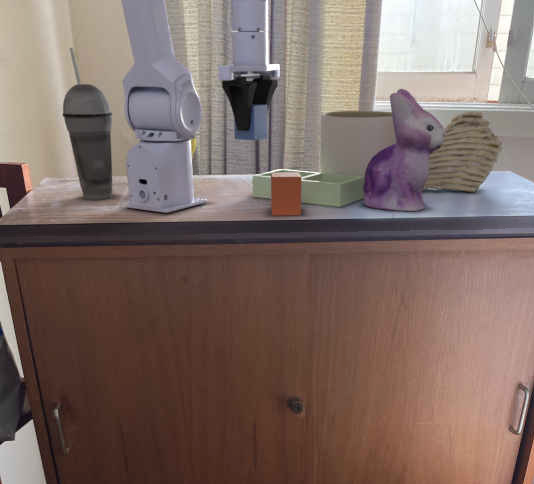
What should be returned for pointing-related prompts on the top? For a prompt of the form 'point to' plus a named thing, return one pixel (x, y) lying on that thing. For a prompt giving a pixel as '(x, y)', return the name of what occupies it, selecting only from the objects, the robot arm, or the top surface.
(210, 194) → the top surface
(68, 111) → the beverage cup
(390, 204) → the figurine
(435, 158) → the fossil tooth
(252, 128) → the blue block
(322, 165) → the planter
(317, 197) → the tray
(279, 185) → the terracotta block
